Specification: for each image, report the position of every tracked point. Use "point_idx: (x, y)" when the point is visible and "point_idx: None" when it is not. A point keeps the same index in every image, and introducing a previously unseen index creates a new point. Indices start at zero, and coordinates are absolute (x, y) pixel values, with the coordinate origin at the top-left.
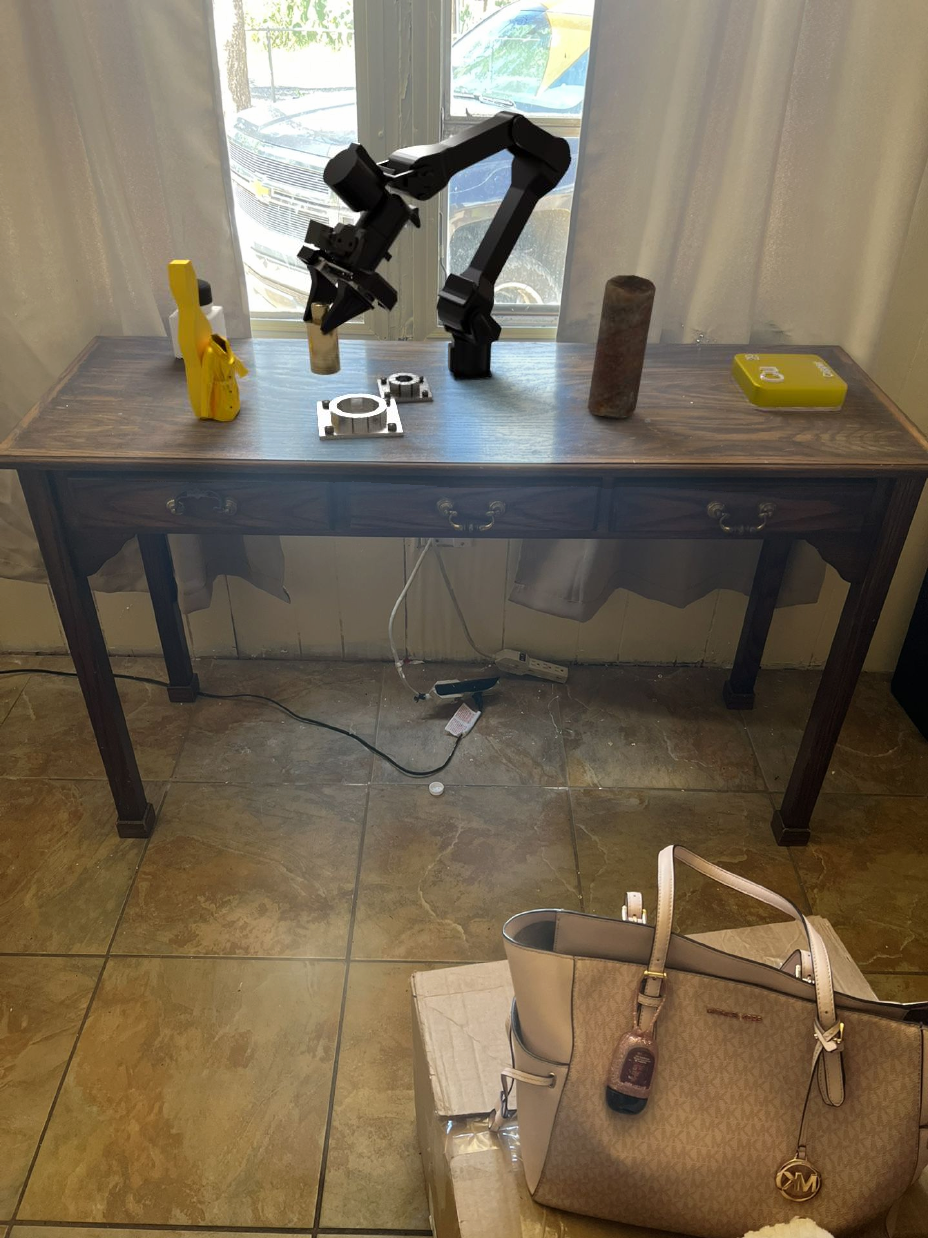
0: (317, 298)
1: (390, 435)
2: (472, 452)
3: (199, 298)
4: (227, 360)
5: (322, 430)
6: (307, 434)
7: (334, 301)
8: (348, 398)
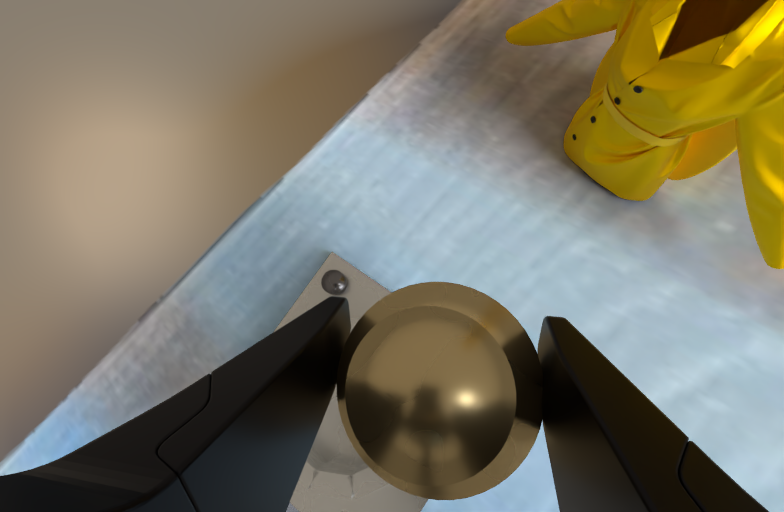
0: (603, 493)
1: None
2: None
3: None
4: (640, 57)
5: (349, 273)
6: (377, 248)
7: (213, 422)
8: None
